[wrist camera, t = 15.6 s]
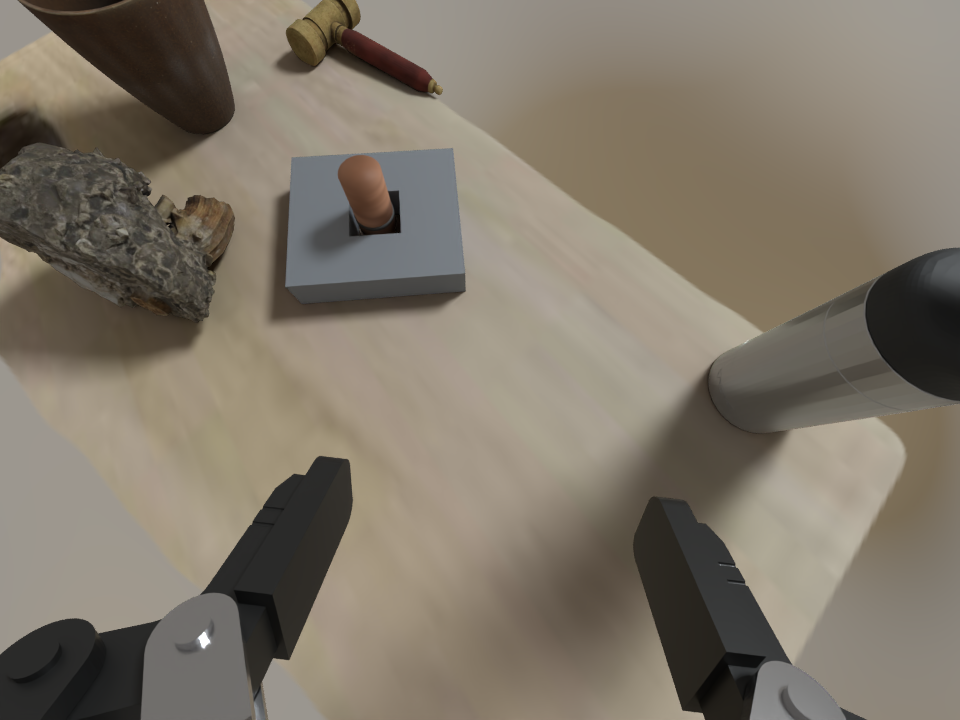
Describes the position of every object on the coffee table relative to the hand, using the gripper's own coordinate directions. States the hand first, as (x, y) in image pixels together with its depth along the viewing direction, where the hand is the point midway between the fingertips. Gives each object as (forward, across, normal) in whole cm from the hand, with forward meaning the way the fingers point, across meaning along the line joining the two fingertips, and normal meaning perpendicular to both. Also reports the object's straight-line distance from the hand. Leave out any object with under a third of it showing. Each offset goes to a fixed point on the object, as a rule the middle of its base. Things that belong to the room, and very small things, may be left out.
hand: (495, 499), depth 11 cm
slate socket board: (+39, +14, +2) cm, 41 cm away
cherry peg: (+39, +14, +2) cm, 41 cm away
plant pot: (+50, +40, -9) cm, 64 cm away
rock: (+34, +35, +7) cm, 49 cm away
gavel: (+58, +20, -17) cm, 63 cm away
